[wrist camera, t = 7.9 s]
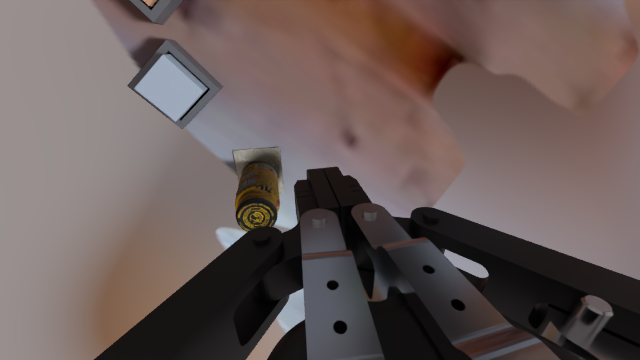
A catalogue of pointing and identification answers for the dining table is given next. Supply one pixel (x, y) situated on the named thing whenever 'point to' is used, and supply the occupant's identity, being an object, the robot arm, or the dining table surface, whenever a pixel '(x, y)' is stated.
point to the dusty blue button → (171, 87)
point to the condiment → (258, 187)
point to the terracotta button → (151, 2)
